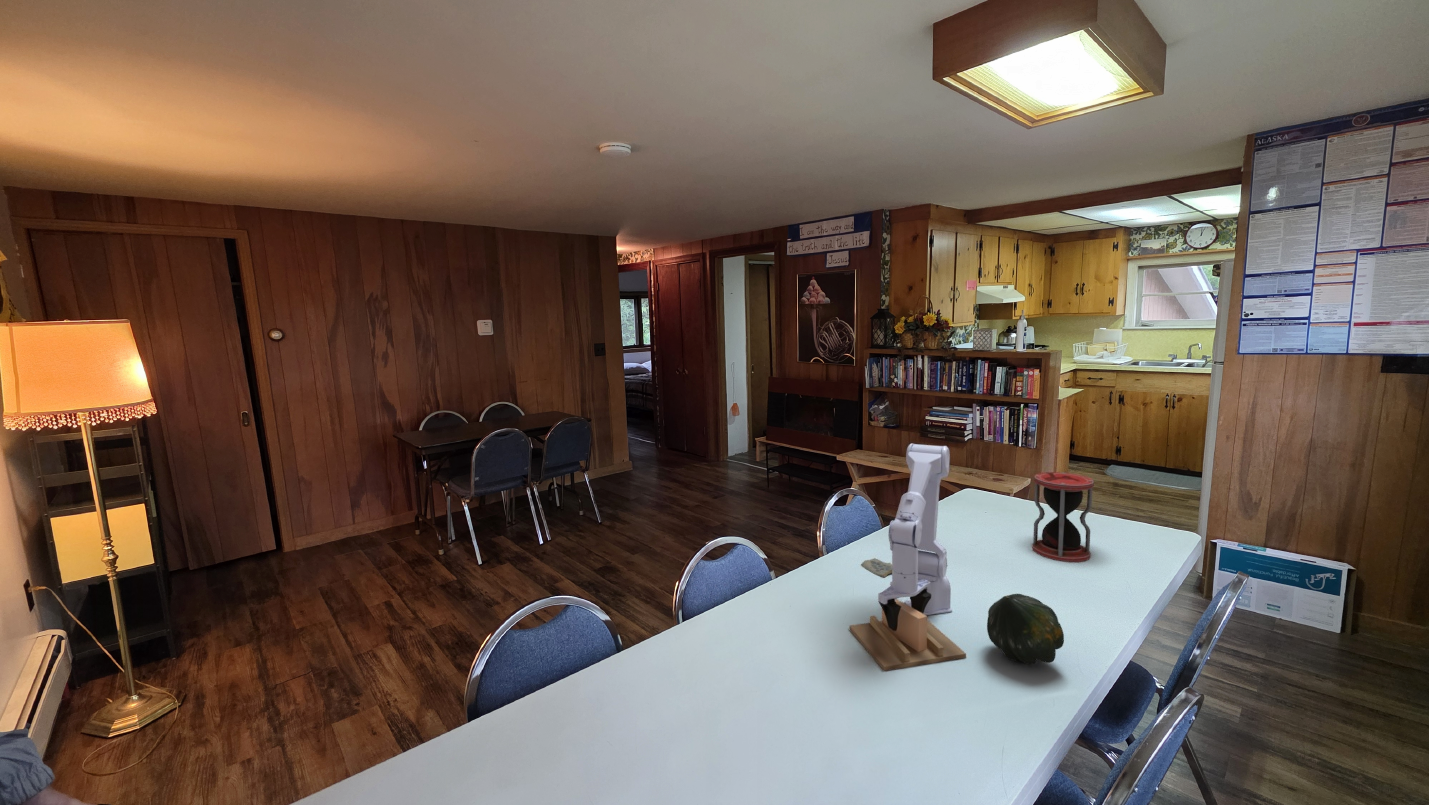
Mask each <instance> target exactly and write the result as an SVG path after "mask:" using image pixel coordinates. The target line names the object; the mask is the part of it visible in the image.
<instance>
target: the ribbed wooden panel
mask: <svg viewBox="0 0 1429 805" xmlns="http://www.w3.org/2000/svg"><path fill="white" fill-rule="evenodd" d="M848 626H849V627H848V630H849V629H850V630H851V631H850V630H849V631H850V632H851V634H852V635H854V637H855V638H856V639H857V640H858V642H859V643H860V644H861V645H862V646H863V648H864V649H865V650H866V651H867V652H868V654H869V655H870V656H871V657H872V659H873V660H874V661H875V662H876V663H877V664H878V666H880V668H882V670H883V672H885V671H891V670H893V671H894V670H899V669H905V668H910V667H918V666H922V665H924V666H925V665H928V664H929V665H930V664H937V663H941V662H948V661H953V660H961V659H965V658H967V652H965V651H964V650H963V649H961V648H960V647H959V645H957V644H956V643H955V642H953V641H952V640H951V639H950V637H948V636H947V635H946V634H944V633H943V632H942V631H941V630H940V629H939V628H938V627H936V626H935V625H934V624H933V623H932V622H930V621H929V620H928V619H927V649H925V650H923V651H920V652H918V651H916V650H915V649H913V648H912V647H910V646H909V645H907V644H906V643H904V642H903V641H901V640H899V639H898V638H896V637H895V636H894V635H893V634H892V633H891V632H890V631H889V630H888V629H887V628H886V627H885V626H884V625H883V624H882V620H879V619H878V618H877V617H876V616H875V615H870V616H869V622H864V623H859V624H858V623H857V624H851V625H848Z"/></svg>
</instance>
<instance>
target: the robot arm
mask: <svg viewBox="0 0 1429 805" xmlns="http://www.w3.org/2000/svg"><path fill="white" fill-rule="evenodd" d="M950 453H951V452H950V449H949V447H948V446H947V445H932V444H931V445H930V444H928V445H927V444H916V443H910V444H908V446H907V448H906V453H905V460H906V464H907V466H908V470H909V471H910V477H909V483H908V489H907V492H906V493H903V495H901V498H900V502H899V505H898V507H897V508H898V509H897V512H896V515H895V518H894V520H891V521H890V522H889V527H888V542H889V545H890V546H889V550H890V551H891V554H892V555H891V564H892V573H891V581H890V583H889V585H890V586H888V587H887V588H885V589H884V590H883V591H881V592H879V593H878V595H877V596H878V597H877V598H878V599H877V601H878V604H879V605H880V607H881V610H882V609H883V611H884V613H885V616H886V619H887V623H888V627H889V628H890V629H892V630H893V631H896V630H897V627H898V615H899V612H900V609H901V606H900V605H898V604H896V602H895V599H898V600H899V599H900V598H909V600H908V599H907V600H904V603H905V604H906V605H908V606H910V607H912V608H913V609H915V610H917V611H919V612H921V613H922V614H924V615H926V616H931V615H938V614H944V613H945V614H946V613H951V612H953V609H952V608H951V595H952V593H951V590H952V588H951V582H950V580H949V578H948V576H946V575H947V569H948V558H947V548H946V547H945V546H944V545H943V544H941V543H940V541H938V540H937V528H938V514H939V499H940V498H939V497H940V485H941V482H942V479H944V478H947V477H948V476H949V472H950V460H951V456H950Z"/></svg>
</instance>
